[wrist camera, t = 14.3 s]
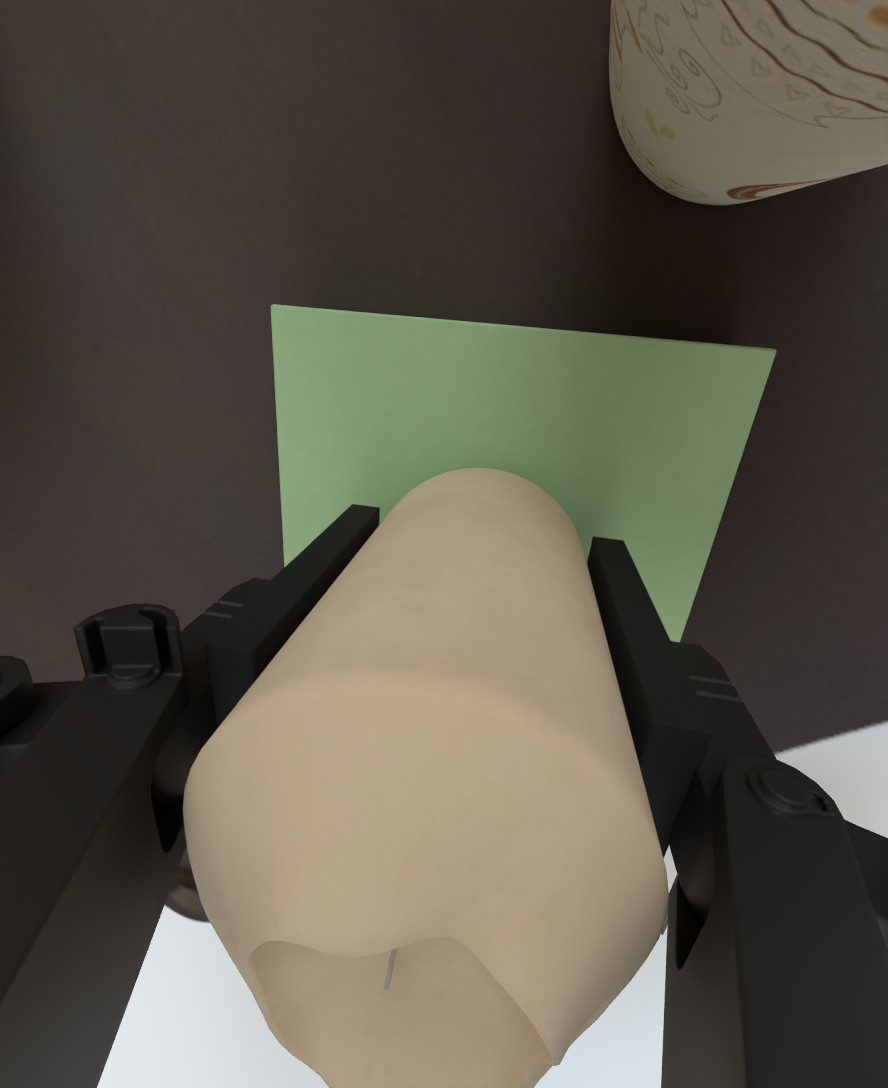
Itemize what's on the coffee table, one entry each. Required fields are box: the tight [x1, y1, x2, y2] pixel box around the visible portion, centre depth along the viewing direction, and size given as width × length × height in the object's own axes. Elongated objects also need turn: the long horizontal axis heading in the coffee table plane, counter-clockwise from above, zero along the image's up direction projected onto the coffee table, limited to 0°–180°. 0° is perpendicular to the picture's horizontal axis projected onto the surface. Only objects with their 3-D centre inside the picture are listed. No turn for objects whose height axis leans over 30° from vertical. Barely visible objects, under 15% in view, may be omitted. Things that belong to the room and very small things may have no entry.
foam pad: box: [271, 304, 776, 642], centre depth 15 cm, size 12×12×2 cm
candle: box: [183, 468, 669, 1088], centre depth 9 cm, size 6×6×10 cm
